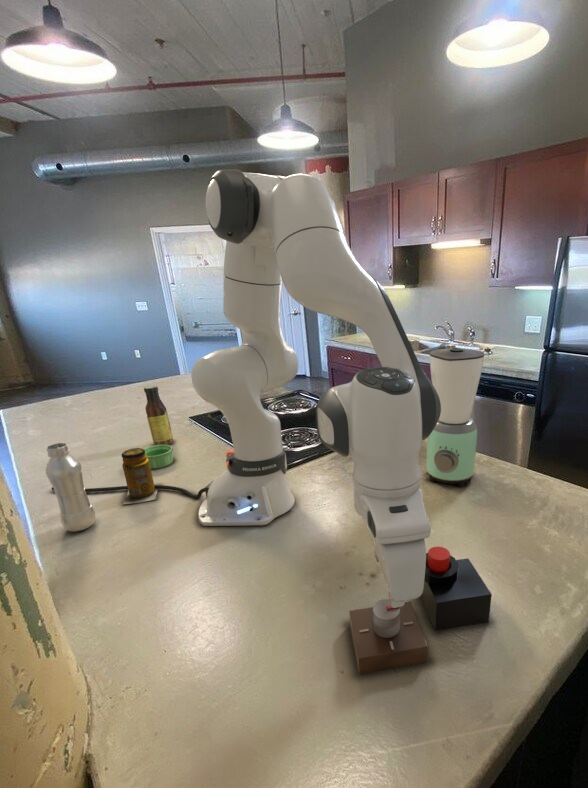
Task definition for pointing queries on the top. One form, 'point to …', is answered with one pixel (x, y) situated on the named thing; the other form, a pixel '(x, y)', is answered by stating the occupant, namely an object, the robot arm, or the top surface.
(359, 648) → the timer panel
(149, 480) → the condiment
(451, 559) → the black button base
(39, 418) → the top surface
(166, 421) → the sauce bottle
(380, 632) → the knob
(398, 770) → the top surface
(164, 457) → the ramekin
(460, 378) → the green blender
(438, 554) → the button
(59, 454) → the plastic bottle
